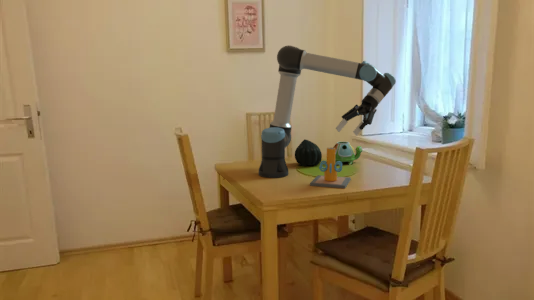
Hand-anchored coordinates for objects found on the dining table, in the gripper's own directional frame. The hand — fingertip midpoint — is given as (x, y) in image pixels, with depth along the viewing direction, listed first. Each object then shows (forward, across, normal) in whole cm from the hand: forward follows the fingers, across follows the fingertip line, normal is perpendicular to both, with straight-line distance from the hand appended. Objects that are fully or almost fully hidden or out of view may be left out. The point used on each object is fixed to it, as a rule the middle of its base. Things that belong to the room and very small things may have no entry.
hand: (345, 131), depth 203 cm
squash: (+16, +35, -17) cm, 42 cm away
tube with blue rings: (+23, -5, -8) cm, 25 cm away
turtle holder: (0, +29, -32) cm, 44 cm away
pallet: (+24, -5, -8) cm, 26 cm away
